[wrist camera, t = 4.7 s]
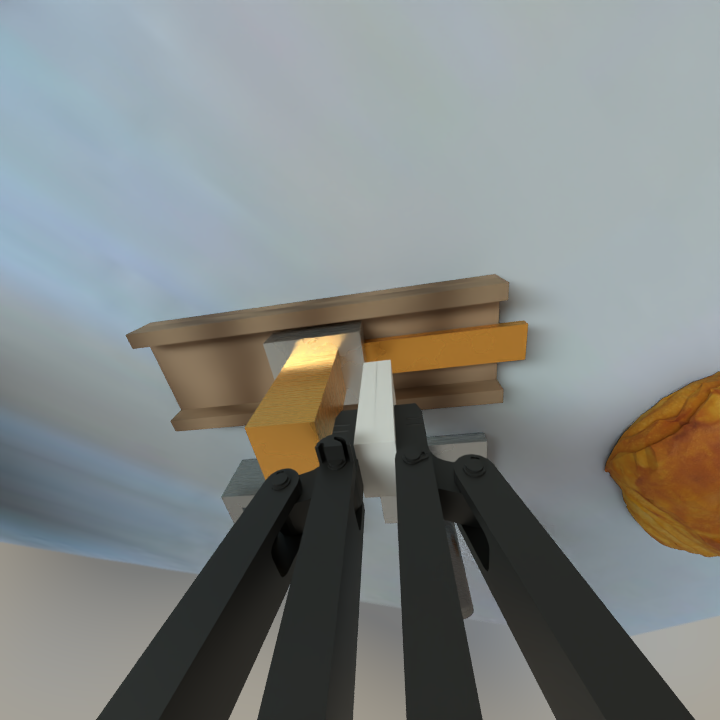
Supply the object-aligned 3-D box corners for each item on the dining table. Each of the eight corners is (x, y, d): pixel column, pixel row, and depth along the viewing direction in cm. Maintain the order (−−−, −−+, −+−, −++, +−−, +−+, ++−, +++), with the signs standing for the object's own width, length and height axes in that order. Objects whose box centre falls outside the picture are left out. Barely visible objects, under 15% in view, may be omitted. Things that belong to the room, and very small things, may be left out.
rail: (193, 412, 26) (175, 431, 24) (150, 322, 22) (125, 335, 20) (491, 384, 22) (502, 402, 20) (494, 274, 19) (509, 282, 17)
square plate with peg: (385, 513, 30) (385, 646, 21) (372, 441, 26) (365, 565, 17) (482, 509, 28) (527, 648, 19) (483, 432, 24) (540, 561, 16)
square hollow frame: (264, 512, 31) (249, 552, 27) (242, 460, 28) (221, 497, 24) (332, 509, 30) (325, 550, 26) (317, 454, 27) (306, 492, 23)
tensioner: (292, 394, 23) (241, 496, 15) (273, 332, 21) (202, 411, 13) (519, 372, 21) (606, 476, 13) (524, 299, 18) (633, 369, 10)
